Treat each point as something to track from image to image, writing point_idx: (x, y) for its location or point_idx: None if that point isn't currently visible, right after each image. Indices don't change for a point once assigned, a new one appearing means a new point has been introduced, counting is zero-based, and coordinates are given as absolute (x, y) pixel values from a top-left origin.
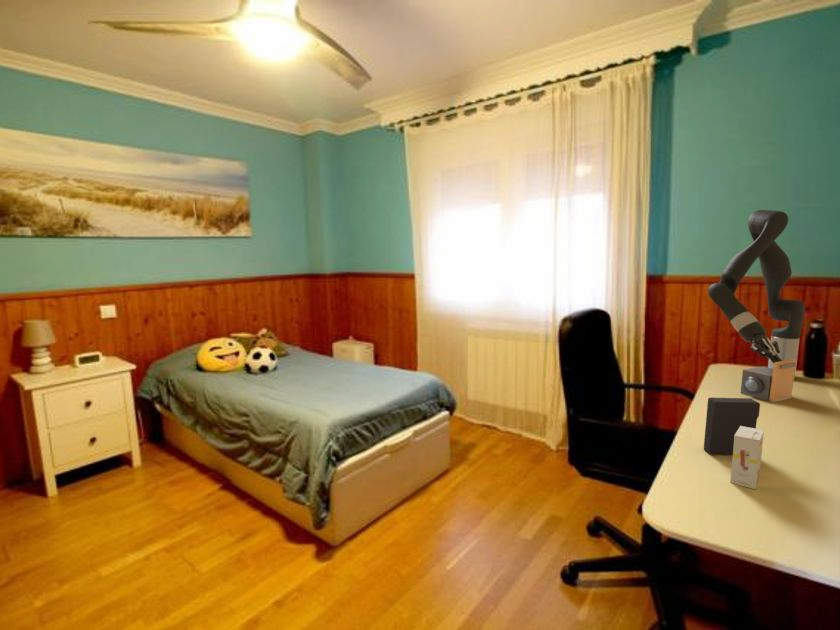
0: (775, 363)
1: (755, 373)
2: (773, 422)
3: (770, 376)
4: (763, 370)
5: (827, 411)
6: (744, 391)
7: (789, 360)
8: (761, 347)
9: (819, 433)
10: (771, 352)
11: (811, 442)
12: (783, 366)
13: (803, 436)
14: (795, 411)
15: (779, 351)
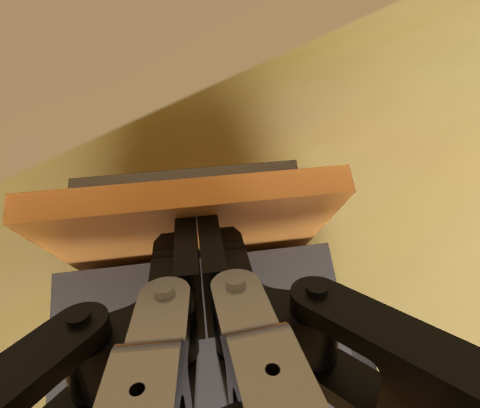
0: (348, 183)
1: (348, 353)
2: (453, 124)
3: (320, 245)
4: (214, 392)
5: (138, 133)
6: None
7: (111, 199)
8: (458, 368)
9: (388, 33)
10: (266, 297)
11: (468, 9)
12: (275, 165)
13: (455, 35)
14: None
15: (68, 311)
